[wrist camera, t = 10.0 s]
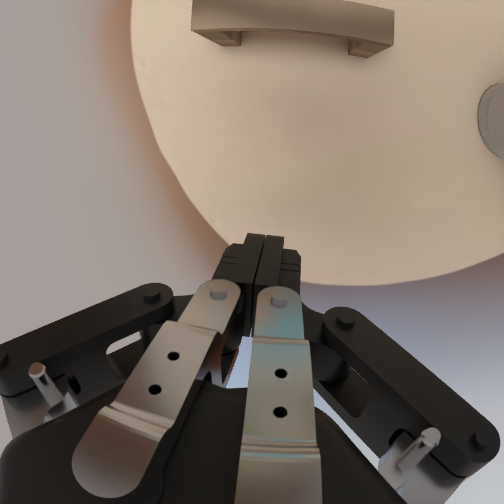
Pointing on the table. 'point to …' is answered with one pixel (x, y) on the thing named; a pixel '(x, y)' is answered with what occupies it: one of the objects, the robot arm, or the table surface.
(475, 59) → the table surface
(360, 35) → the bridge
